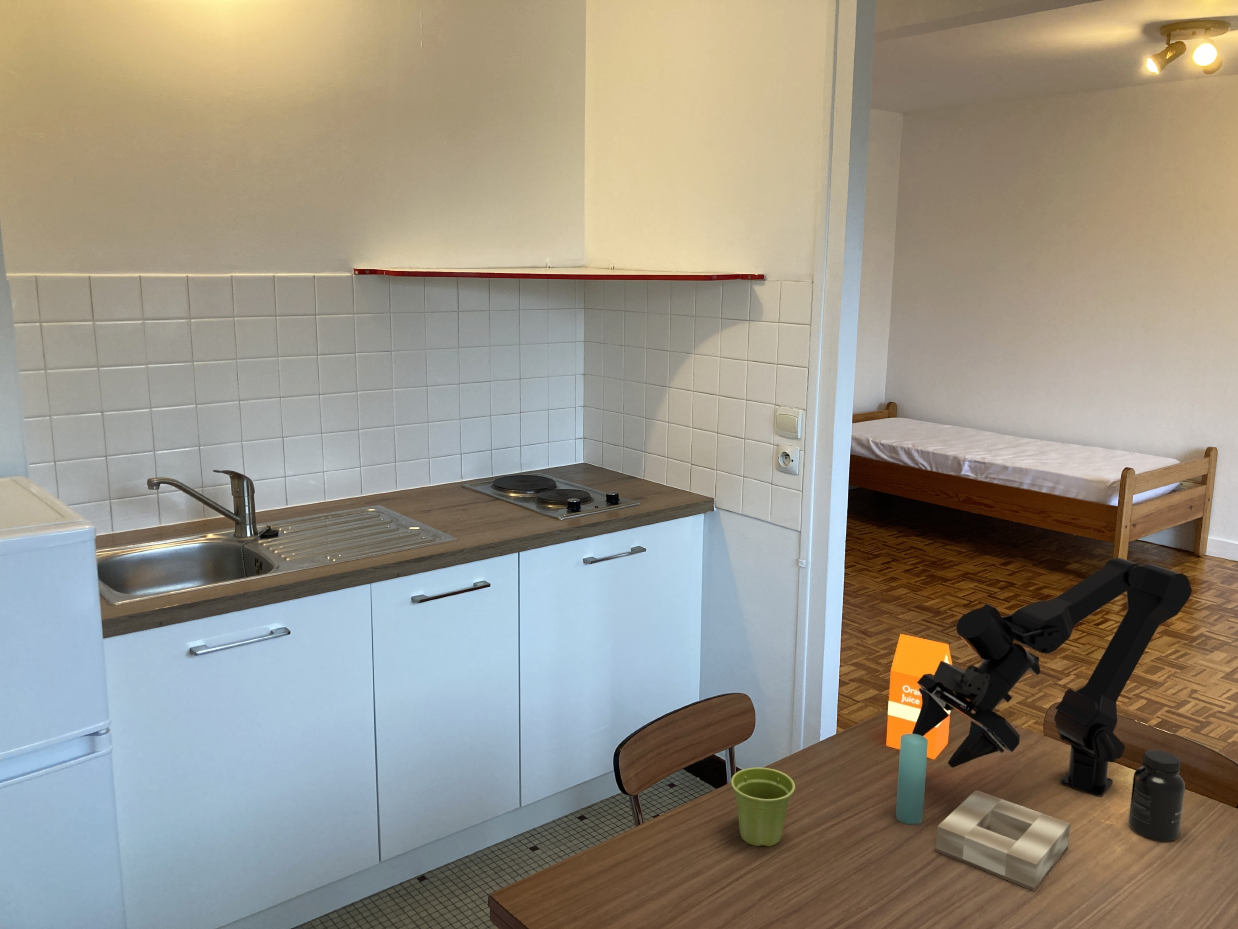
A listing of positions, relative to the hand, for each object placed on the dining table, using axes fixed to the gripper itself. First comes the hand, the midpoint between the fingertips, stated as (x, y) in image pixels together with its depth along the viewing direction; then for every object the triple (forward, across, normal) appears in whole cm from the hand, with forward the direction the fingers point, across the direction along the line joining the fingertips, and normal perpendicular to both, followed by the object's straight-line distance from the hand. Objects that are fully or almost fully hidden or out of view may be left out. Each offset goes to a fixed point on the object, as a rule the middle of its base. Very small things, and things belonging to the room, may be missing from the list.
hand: (931, 751), depth 149 cm
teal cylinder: (+10, 0, +5) cm, 11 cm away
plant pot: (+27, -2, -12) cm, 30 cm away
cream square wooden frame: (+4, +12, +11) cm, 16 cm away
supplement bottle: (-14, +14, +29) cm, 35 cm away
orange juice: (-2, -20, +17) cm, 26 cm away
